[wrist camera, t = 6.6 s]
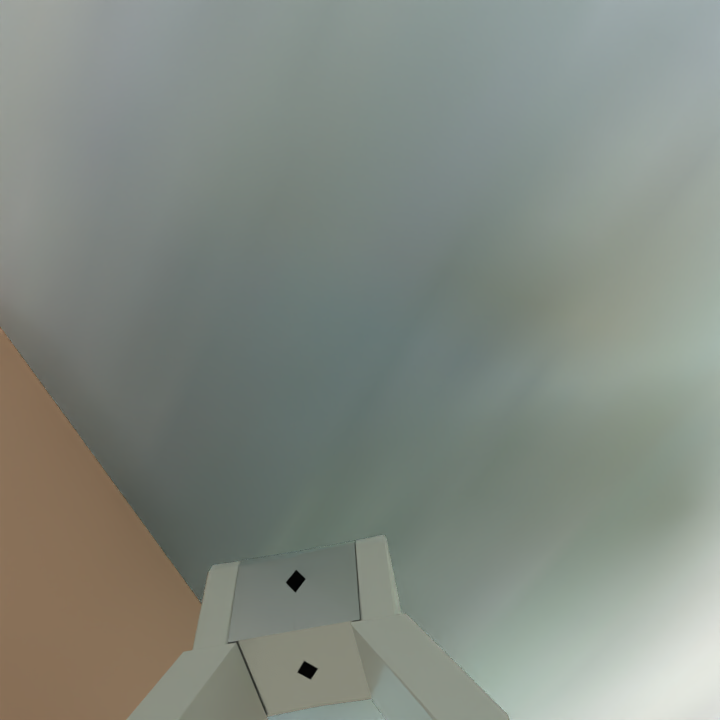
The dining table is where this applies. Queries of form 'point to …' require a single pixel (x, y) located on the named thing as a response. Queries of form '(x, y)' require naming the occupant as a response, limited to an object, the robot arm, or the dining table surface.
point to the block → (75, 572)
